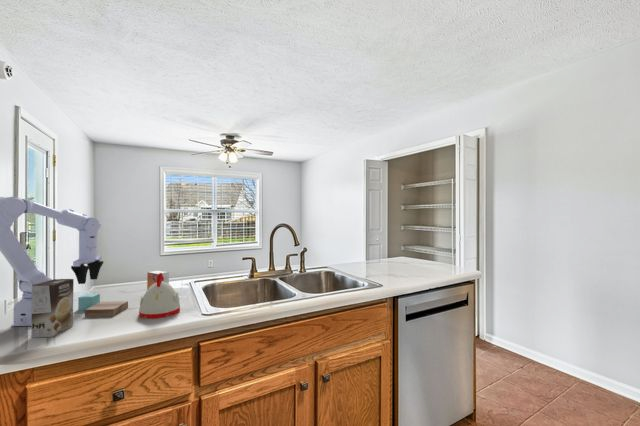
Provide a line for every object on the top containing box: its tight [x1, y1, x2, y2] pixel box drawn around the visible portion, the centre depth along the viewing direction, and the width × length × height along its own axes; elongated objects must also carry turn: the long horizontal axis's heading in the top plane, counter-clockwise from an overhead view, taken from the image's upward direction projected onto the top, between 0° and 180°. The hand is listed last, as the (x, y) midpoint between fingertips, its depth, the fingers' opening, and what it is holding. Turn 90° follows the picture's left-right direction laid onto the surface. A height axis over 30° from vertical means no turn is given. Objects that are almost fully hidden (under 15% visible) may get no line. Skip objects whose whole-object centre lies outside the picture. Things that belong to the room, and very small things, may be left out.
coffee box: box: [30, 278, 74, 338], centre depth 99 cm, size 9×6×16 cm
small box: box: [146, 270, 170, 291], centre depth 143 cm, size 8×6×10 cm
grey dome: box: [138, 273, 181, 320], centre depth 119 cm, size 14×14×15 cm
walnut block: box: [84, 300, 129, 318], centre depth 119 cm, size 10×10×3 cm
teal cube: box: [77, 293, 101, 311], centre depth 123 cm, size 5×5×5 cm
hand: (88, 281), depth 124 cm, fingers open, 7 cm apart
